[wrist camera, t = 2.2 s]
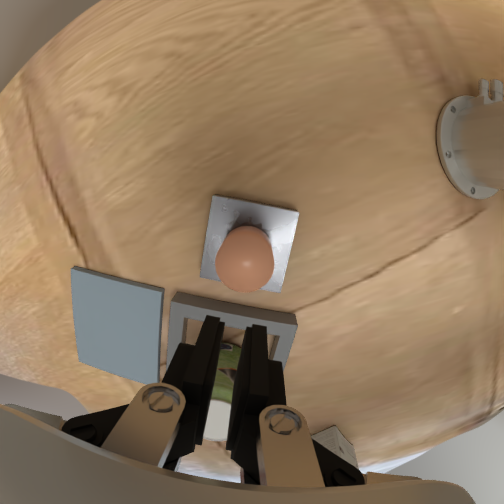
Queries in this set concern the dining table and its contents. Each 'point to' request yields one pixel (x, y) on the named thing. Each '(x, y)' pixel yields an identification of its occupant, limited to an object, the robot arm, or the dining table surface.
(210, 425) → the beverage can
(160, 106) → the dining table surface
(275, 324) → the frame
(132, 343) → the mat
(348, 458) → the skincare box
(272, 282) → the button base
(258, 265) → the button
